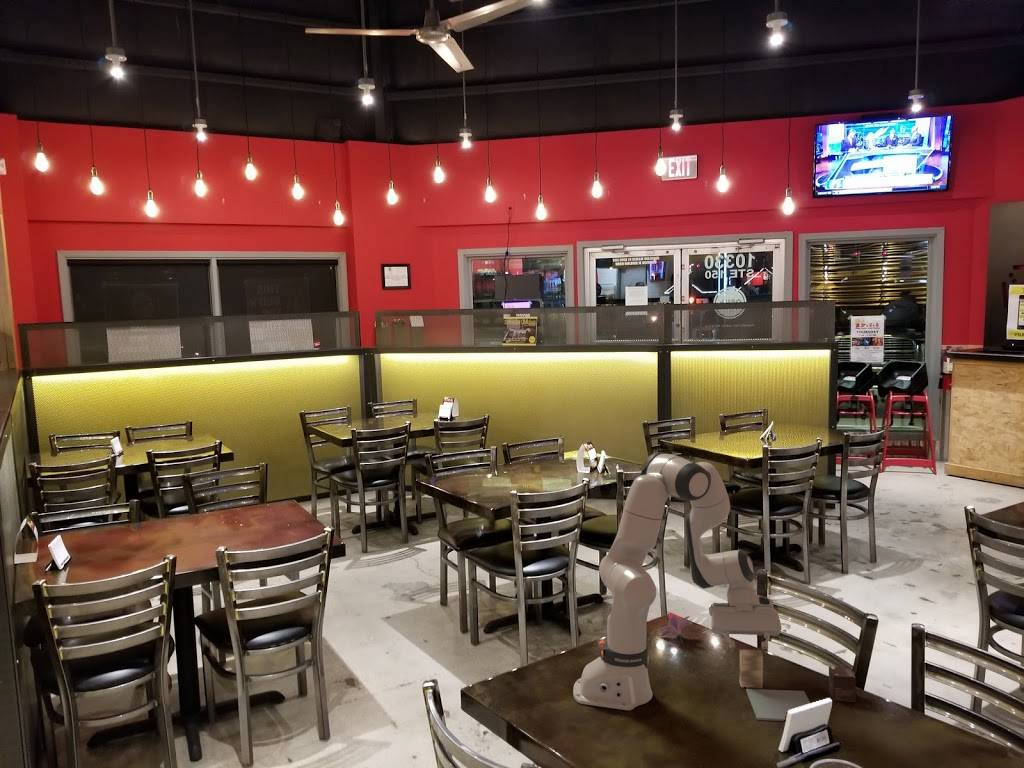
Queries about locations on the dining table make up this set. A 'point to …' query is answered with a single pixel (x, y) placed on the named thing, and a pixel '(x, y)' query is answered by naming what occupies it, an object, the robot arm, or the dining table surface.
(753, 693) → the placemat
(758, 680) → the birch slab
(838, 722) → the dining table surface
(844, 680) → the box
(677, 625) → the lily
